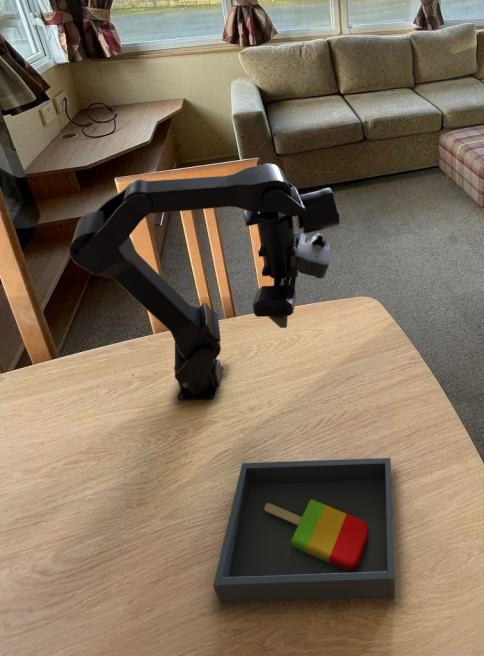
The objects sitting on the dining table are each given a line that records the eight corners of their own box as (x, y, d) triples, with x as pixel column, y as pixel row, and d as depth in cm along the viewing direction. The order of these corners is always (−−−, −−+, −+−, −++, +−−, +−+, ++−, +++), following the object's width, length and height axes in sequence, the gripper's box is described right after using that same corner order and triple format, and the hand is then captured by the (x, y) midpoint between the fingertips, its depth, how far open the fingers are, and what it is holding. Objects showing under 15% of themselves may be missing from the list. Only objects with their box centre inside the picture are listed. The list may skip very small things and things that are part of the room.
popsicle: (355, 577, 61) (355, 569, 60) (254, 531, 66) (252, 523, 65) (371, 529, 66) (371, 522, 65) (276, 490, 71) (274, 482, 70)
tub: (219, 604, 59) (213, 585, 57) (247, 481, 72) (242, 462, 70) (395, 597, 60) (394, 579, 58) (391, 476, 72) (390, 457, 70)
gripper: (319, 273, 72) (327, 348, 79) (330, 205, 89) (336, 271, 96) (245, 276, 72) (260, 350, 79) (269, 207, 89) (280, 273, 96)
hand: (287, 307), depth 88 cm, fingers open, 9 cm apart
